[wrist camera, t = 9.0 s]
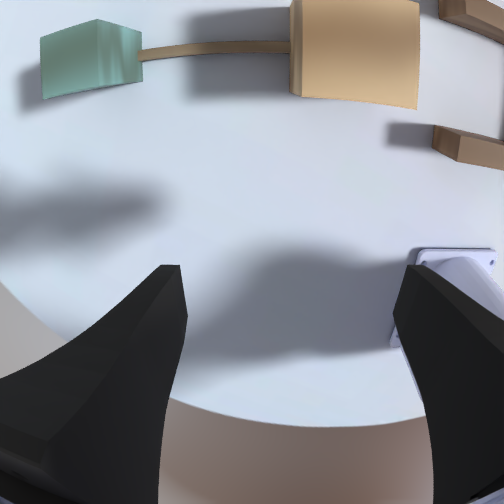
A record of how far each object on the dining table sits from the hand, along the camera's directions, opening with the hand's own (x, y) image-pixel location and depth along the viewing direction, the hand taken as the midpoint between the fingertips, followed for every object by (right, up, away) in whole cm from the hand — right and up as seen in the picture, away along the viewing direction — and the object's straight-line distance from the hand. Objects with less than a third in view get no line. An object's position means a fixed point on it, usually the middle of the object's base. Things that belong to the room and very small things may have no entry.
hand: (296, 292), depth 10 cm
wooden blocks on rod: (-2, +12, +4) cm, 13 cm away
